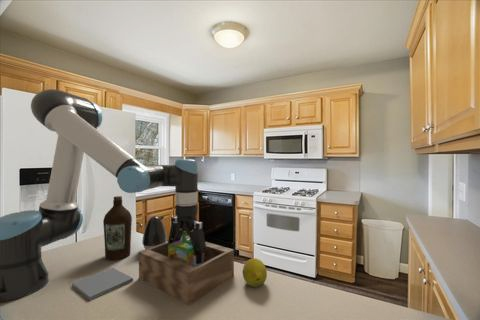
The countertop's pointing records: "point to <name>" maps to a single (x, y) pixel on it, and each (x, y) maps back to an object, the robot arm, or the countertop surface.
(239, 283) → the countertop surface
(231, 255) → the walnut box
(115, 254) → the olive oil
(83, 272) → the countertop surface
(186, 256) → the chalk box
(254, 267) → the lemon
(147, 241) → the pump dispenser
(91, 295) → the slate mat
